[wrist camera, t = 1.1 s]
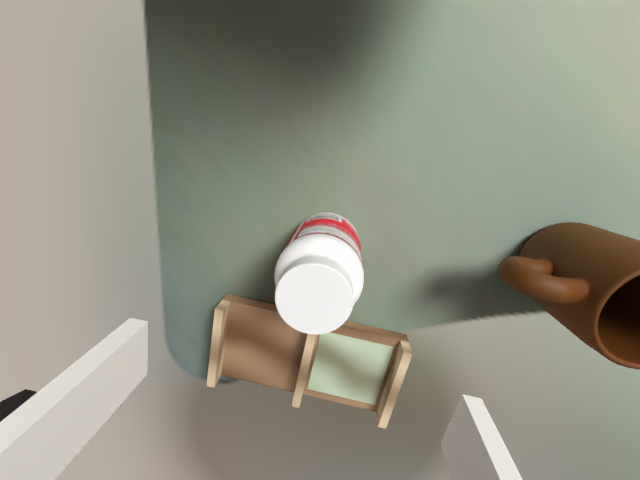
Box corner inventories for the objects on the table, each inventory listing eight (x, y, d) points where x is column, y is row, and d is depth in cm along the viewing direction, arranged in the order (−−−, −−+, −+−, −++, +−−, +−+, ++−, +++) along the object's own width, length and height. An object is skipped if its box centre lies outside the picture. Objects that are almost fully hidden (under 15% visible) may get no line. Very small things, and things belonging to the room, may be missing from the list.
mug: (451, 278, 28) (498, 340, 19) (481, 199, 26) (551, 227, 17) (580, 308, 28) (689, 385, 19) (622, 230, 26) (769, 276, 17)
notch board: (227, 293, 31) (214, 308, 28) (406, 334, 30) (412, 354, 27) (218, 365, 34) (206, 385, 31) (382, 404, 33) (385, 428, 30)
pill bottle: (321, 285, 30) (305, 362, 19) (280, 237, 29) (240, 290, 18) (373, 249, 28) (388, 311, 18) (332, 197, 27) (322, 229, 16)
